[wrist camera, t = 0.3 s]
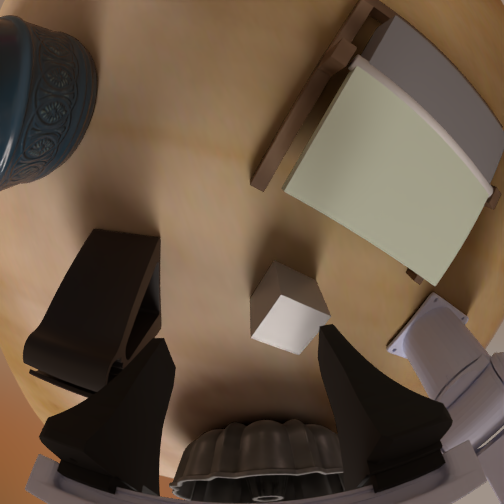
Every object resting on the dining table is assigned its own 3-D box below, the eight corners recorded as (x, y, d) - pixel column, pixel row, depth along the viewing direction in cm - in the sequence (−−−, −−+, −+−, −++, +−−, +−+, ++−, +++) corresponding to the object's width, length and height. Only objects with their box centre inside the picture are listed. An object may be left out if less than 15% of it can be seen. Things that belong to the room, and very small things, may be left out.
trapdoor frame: (359, -1, 13) (382, -24, 9) (492, 125, 16) (524, 130, 12) (249, 181, 19) (250, 194, 15) (412, 276, 22) (436, 302, 18)
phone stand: (95, 227, 20) (0, 306, 9) (161, 236, 20) (88, 339, 9) (104, 314, 24) (49, 408, 13) (161, 326, 24) (123, 436, 13)
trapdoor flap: (368, 22, 13) (387, 8, 10) (488, 139, 15) (512, 143, 13) (275, 181, 17) (280, 190, 15) (418, 270, 20) (436, 288, 18)
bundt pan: (266, 477, 42) (268, 517, 32) (149, 439, 34) (138, 489, 25) (379, 426, 34) (395, 475, 25) (262, 370, 27) (267, 455, 17)
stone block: (315, 280, 22) (331, 316, 18) (290, 315, 24) (298, 355, 19) (274, 259, 21) (281, 294, 17) (249, 298, 23) (250, 337, 18)
